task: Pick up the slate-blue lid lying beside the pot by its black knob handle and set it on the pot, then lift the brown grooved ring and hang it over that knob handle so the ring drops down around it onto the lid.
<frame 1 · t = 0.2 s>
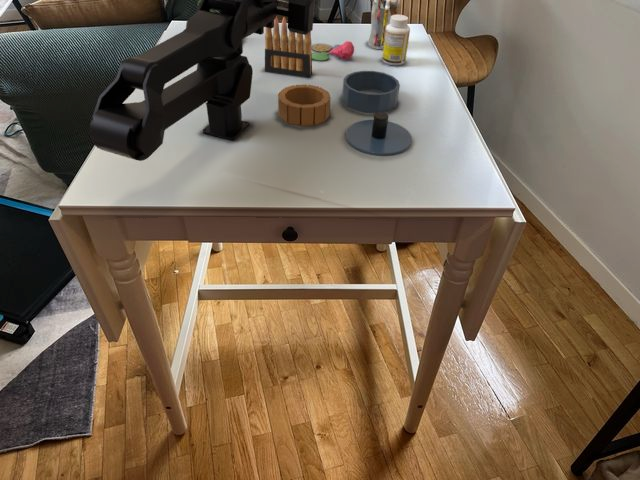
monster figurine: (218, 41, 123), on the table
brown grooved ring: (304, 115, 95), on the table
clear pen holder cup: (379, 45, 124), on the table
toy pieces: (332, 54, 119), on the table
pot: (369, 102, 100), on the table
supplement bottle: (393, 62, 117), on the table
ammunition clip: (288, 73, 110), on the table
pot lid: (378, 137, 88), point 1 cm above the table
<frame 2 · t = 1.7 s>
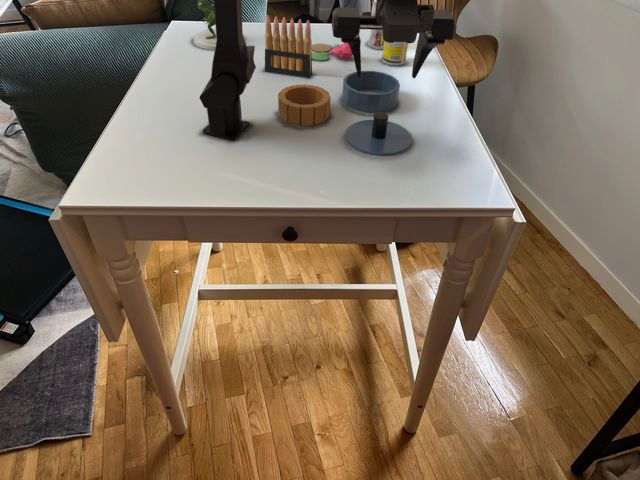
hand: (386, 77, 81), 12 cm above the table, tool pointing down, fingers open, 9 cm apart
nothing on the table moved.
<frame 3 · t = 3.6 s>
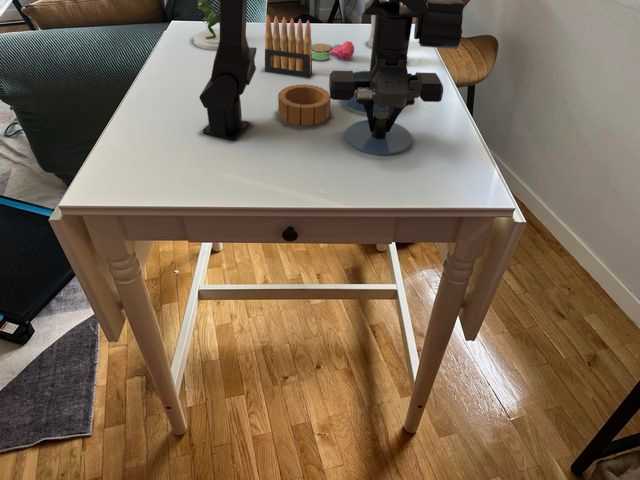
hand: (379, 130, 88), 2 cm above the table, tool pointing down, fingers closed on pot lid, 3 cm apart
pot lid: (378, 137, 88), point 1 cm above the table, touching gripper
everything else where it was.
when the fingers open (6 cm above the table, at t = 8.0 s): pot lid stays where it is, resting on pot.
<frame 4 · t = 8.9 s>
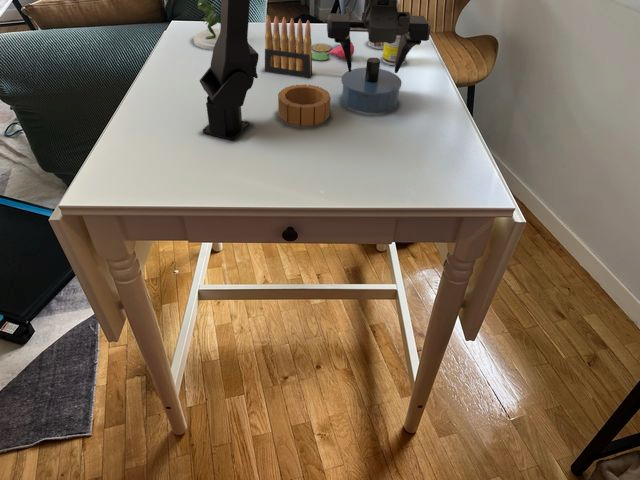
hand: (372, 71, 96), 7 cm above the table, tool pointing down, fingers open, 9 cm apart
pot lid: (371, 82, 97), point 4 cm above the table, touching pot
everything else where it was.
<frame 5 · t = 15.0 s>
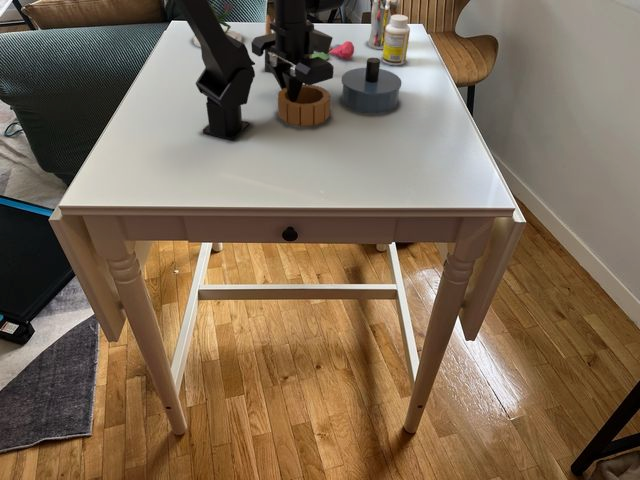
hand: (291, 100, 96), 2 cm above the table, tool pointing down, fingers closed on brown grooved ring
brown grooved ring: (303, 115, 95), on the table, touching gripper
everything else where it was.
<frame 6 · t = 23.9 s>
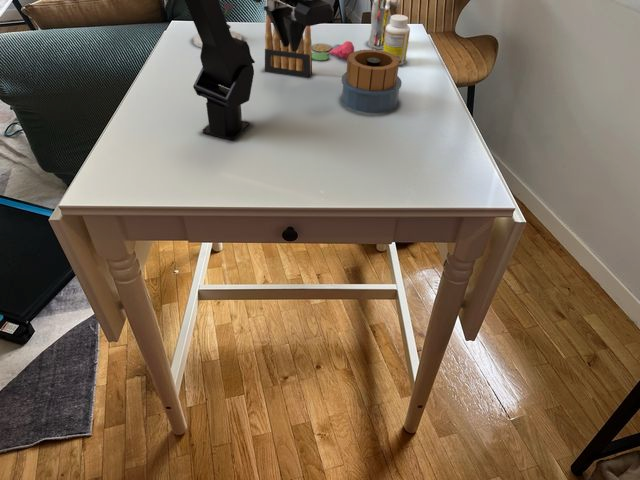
hand: (290, 48, 95), 10 cm above the table, tool pointing down, fingers closed
brown grooved ring: (371, 79, 97), point 5 cm above the table, touching pot lid
pot lid: (371, 82, 97), point 4 cm above the table, touching pot, brown grooved ring
everything else where it was.
at the end: pot lid 0.1 cm off-centre on the pot, point 4.4 cm above the pot's base; brown grooved ring 0.0 cm off-centre on the pot lid, point 0.5 cm above the pot lid's base; pot lid tilted 0° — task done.
